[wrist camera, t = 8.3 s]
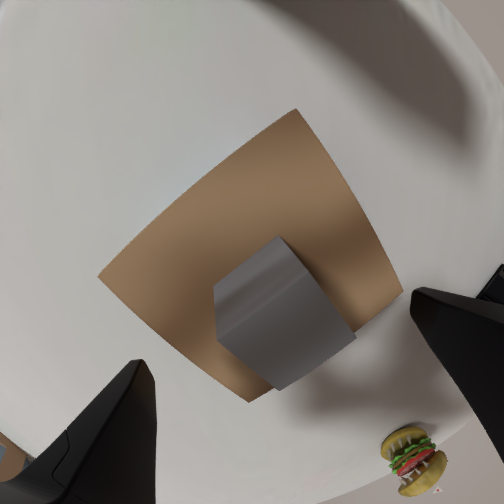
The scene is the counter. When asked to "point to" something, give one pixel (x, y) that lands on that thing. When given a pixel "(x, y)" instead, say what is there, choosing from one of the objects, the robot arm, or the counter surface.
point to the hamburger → (414, 460)
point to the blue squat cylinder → (10, 459)
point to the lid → (259, 264)
